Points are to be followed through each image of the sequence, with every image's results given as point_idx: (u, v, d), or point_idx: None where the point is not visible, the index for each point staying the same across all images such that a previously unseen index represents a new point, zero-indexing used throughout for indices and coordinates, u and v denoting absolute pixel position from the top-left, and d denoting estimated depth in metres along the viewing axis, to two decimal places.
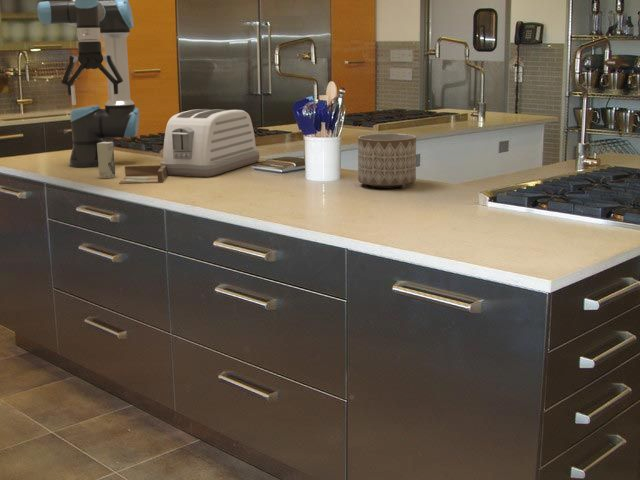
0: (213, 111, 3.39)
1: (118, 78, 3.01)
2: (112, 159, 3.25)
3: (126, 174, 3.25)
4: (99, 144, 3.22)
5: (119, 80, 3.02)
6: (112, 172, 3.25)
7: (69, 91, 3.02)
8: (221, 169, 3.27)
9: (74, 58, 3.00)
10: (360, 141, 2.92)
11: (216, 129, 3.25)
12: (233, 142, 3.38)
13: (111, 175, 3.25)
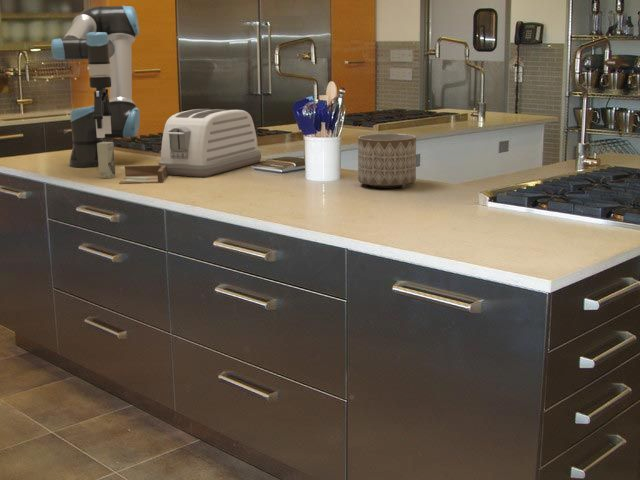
0: (213, 111, 3.39)
1: (94, 113, 3.12)
2: (112, 159, 3.25)
3: (126, 174, 3.25)
4: (99, 144, 3.22)
5: None
6: (112, 172, 3.25)
7: None
8: (218, 169, 3.27)
9: None
10: (360, 141, 2.92)
11: (213, 129, 3.26)
12: (232, 142, 3.38)
13: (111, 175, 3.25)
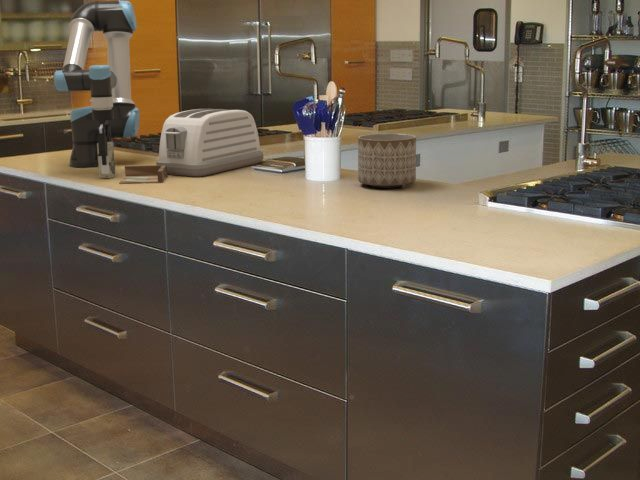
0: (213, 111, 3.40)
1: (99, 150, 3.18)
2: (112, 159, 3.25)
3: (126, 174, 3.25)
4: None
5: None
6: (112, 172, 3.25)
7: None
8: (214, 169, 3.27)
9: None
10: (360, 141, 2.92)
11: (210, 129, 3.26)
12: (231, 142, 3.38)
13: (111, 175, 3.25)
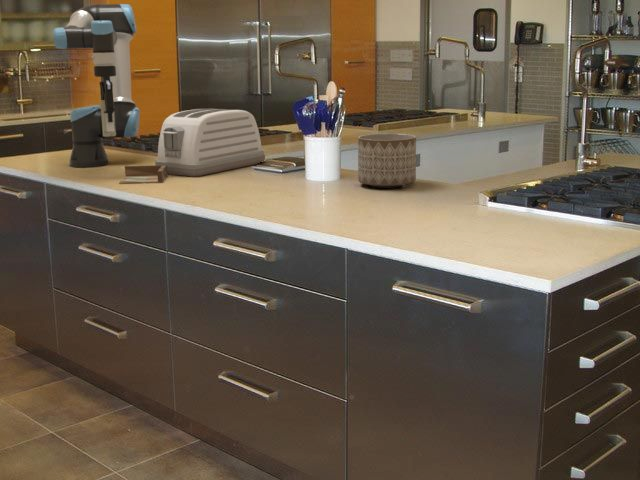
0: (213, 111, 3.40)
1: (106, 107, 3.13)
2: (114, 117, 3.20)
3: (126, 174, 3.25)
4: (103, 102, 3.15)
5: (106, 109, 3.13)
6: (115, 130, 3.20)
7: None
8: (211, 169, 3.28)
9: None
10: (360, 141, 2.92)
11: (207, 129, 3.26)
12: (230, 142, 3.38)
13: (115, 133, 3.20)
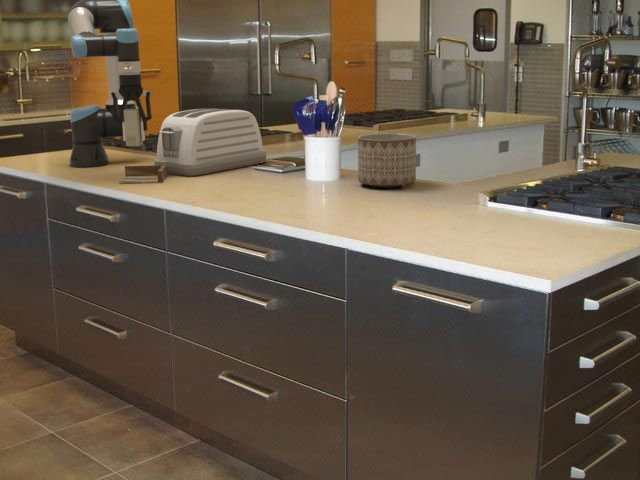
0: (213, 111, 3.40)
1: (148, 115, 3.12)
2: None
3: (126, 174, 3.25)
4: (137, 110, 3.11)
5: (149, 117, 3.12)
6: None
7: (120, 127, 3.13)
8: (208, 169, 3.28)
9: (115, 93, 3.10)
10: (360, 141, 2.92)
11: (205, 128, 3.27)
12: (229, 142, 3.38)
13: None
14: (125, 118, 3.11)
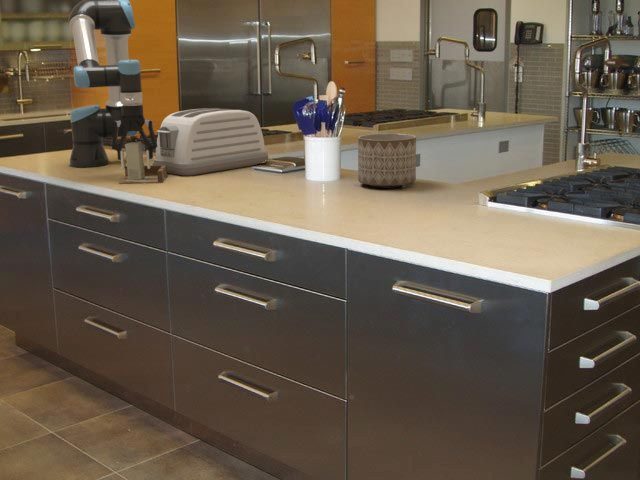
0: (214, 111, 3.41)
1: (154, 144, 3.14)
2: None
3: (126, 174, 3.25)
4: (138, 144, 3.14)
5: (154, 146, 3.15)
6: None
7: (119, 156, 3.15)
8: (204, 169, 3.28)
9: (117, 123, 3.13)
10: (360, 141, 2.92)
11: (201, 128, 3.27)
12: (228, 142, 3.37)
13: None
14: (126, 152, 3.14)
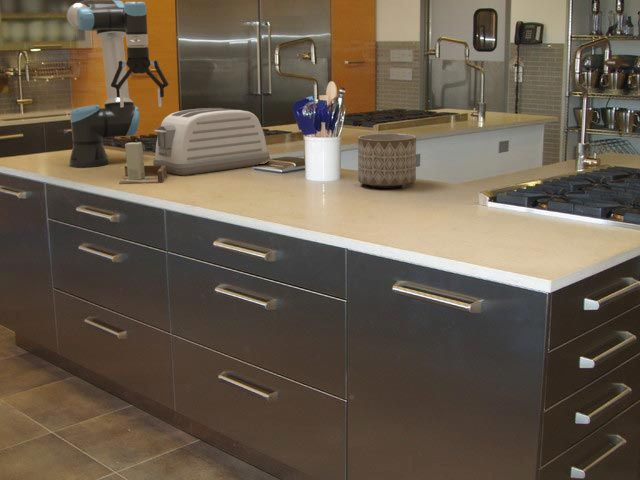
0: (214, 110, 3.41)
1: (164, 82, 3.17)
2: None
3: (126, 174, 3.25)
4: (139, 144, 3.14)
5: (165, 84, 3.17)
6: None
7: (118, 94, 3.18)
8: (200, 168, 3.29)
9: (123, 63, 3.16)
10: (360, 141, 2.92)
11: (198, 128, 3.28)
12: (227, 142, 3.37)
13: None
14: (127, 152, 3.14)
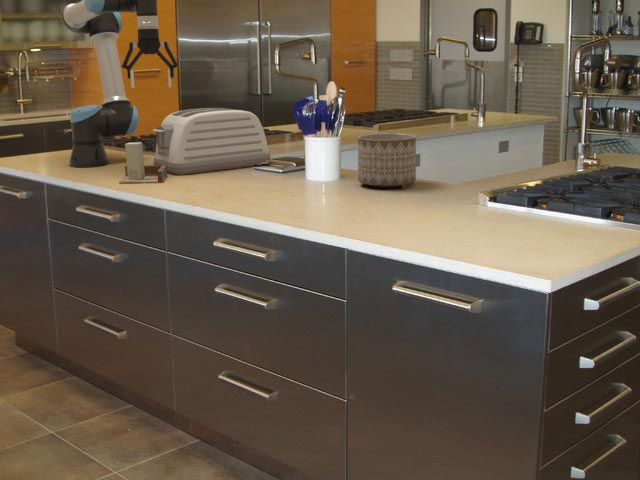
0: (214, 110, 3.42)
1: (174, 63, 3.25)
2: None
3: (126, 174, 3.25)
4: (139, 144, 3.14)
5: (175, 65, 3.25)
6: None
7: (128, 75, 3.25)
8: (197, 168, 3.30)
9: (133, 44, 3.23)
10: (360, 141, 2.92)
11: (195, 128, 3.29)
12: (226, 142, 3.37)
13: None
14: (127, 152, 3.14)
